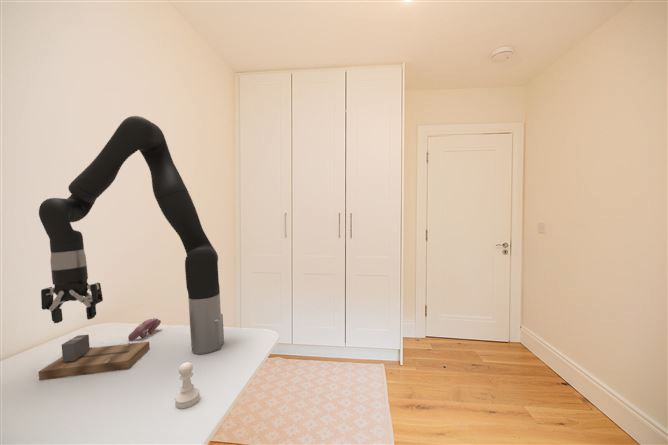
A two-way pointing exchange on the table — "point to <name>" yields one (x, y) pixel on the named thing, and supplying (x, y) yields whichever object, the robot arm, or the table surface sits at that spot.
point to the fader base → (97, 361)
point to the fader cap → (75, 348)
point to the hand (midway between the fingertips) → (74, 320)
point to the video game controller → (144, 328)
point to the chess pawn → (186, 388)
